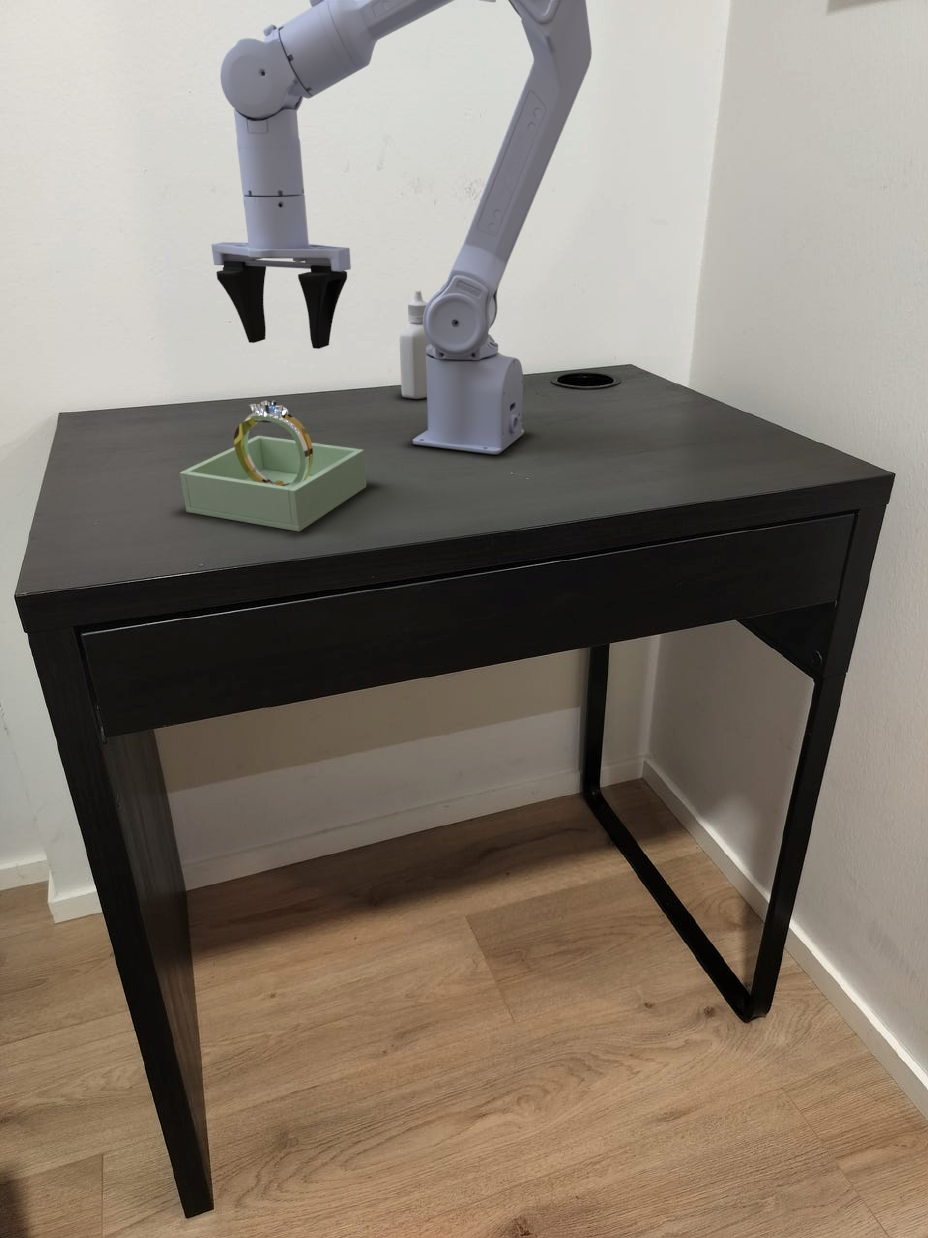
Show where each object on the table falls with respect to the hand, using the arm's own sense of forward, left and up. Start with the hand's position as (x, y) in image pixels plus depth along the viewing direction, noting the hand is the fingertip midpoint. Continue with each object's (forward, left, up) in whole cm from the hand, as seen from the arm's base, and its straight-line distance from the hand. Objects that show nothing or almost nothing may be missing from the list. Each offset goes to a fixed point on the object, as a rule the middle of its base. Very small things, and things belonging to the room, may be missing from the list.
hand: (288, 343), depth 89 cm
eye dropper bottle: (-5, -20, -10) cm, 23 cm away
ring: (-9, +17, -9) cm, 21 cm away
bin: (-9, +17, -9) cm, 21 cm away
